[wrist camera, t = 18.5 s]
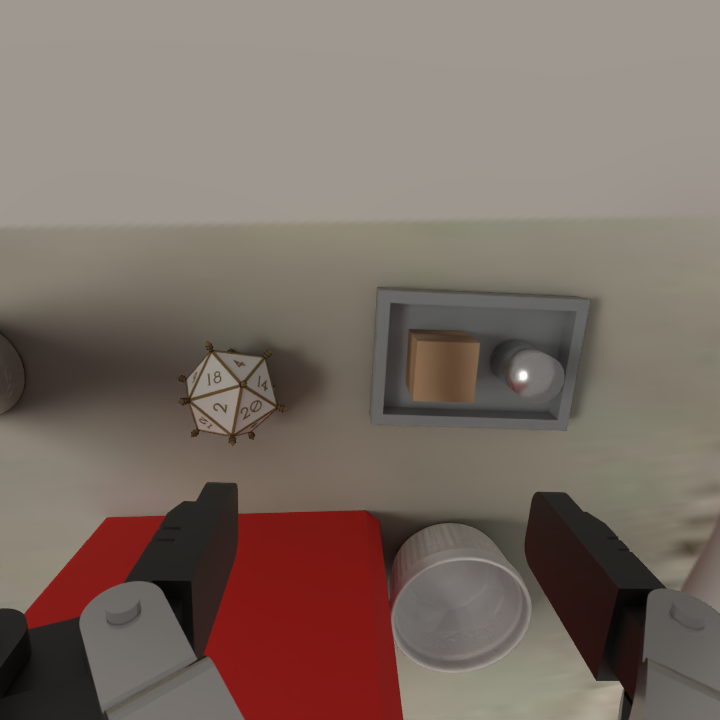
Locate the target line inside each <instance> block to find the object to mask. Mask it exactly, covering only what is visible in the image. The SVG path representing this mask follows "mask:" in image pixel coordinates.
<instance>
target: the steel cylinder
mask: <svg viewBox="0 0 720 720" xmlns="http://www.w3.org/2000/svg"><path fill="white" fill-rule="evenodd" d="M490 366H491V369H492V371H493V373H494V374H495V375H496V376H497V377H498V378H499V379H500V380H501V381H502V382H504V383H505V384H506V385H507V386H508V387H509V388H510V389H511V390H513V391H514V392H515V393H516V394H517V395H518V396H519V397H521V398H522V399H523V400H525V401H527V402H529V403H535V404H538V403H544V402H547V401H549V400H551V399H552V398H554V397H555V396H556V395H557V394H558V393H559V391H560V390H561V388H562V386H563V383H564V370H563V368H562V366H561V364H560V363H559V362H558V361H557V360H556V359H554V358H553V357H551V356H549V355H547V354H545V353H544V352H542V351H540V350H538V349H536V348H535V347H533V346H531V345H529V344H527V343H526V342H524V341H522V340H519V339H508V340H505V341H503V342H501V343H500V344H498V345H497V346H496V347H495V349H494V350H493V352H492V354H491V357H490Z"/></svg>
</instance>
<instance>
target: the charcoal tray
mask: <svg viewBox="0 0 720 720" xmlns="http://www.w3.org/2000/svg"><path fill="white" fill-rule="evenodd" d="M589 306H590V300H588V299H584V298H580V297H576V296H554V295H533V294H511V293H490V292H468V291H447V290H425V289H404V288H382V287H377V297H376V314H375V331H374V348H373V365H372V382H371V399H370V420H371V424H377V425H408V426H438V427H469V428H499V429H530V430H560V431H567V425H568V420H569V415H570V409H571V404H572V398H573V393H574V387H575V382H576V376H577V371H578V366H579V360H580V355H581V349H582V344H583V338H584V333H585V327H586V322H587V316H588V311H589ZM409 329H425V330H457V331H465V332H466V333H468V334H469V335H470V336H471V337H473V338H474V339H475V340H477V341H478V342H479V343H480V349H479V358H478V367H477V376H476V385H475V394H474V403H472V402H432V401H413V400H412V397H411V395H410V393H409V390H408V388H407V386H406V383H405V375H406V360H407V345H408V331H409ZM508 339H519V340H522V341H524V342H526V343H527V344H529V345H531V346H533V347H535V348H536V349H538V350H540V351H542V352H544V353H545V354H547V355H549V356H551V357H553V358H554V359H556V360H557V361H558V362H559V363H560V364H561V366H562V368H563V370H564V383H563V386H562V388H561V390H560V391H559V393H558V394H557V395H556V396H555V397H554V398H552V399H551V400H549V401H547V402H544V403H538V404H535V403H529V402H527V401H525V400H523V399H522V398H521V397H519V396H518V395H517V394H516V393H515V392H514V391H513V390H511V389H510V388H509V387H508V386H507V385H506V384H505V383H504V382H502V381H501V380H500V379H499V378H498V377H497V376H496V375H495V374H494V373H493V371H492V369H491V366H490V357H491V354H492V352H493V350H494V349H495V347H496V346H497V345H498V344H500V343H501V342H503V341H505V340H508Z"/></svg>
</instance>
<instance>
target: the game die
mask: <svg viewBox="0 0 720 720" xmlns="http://www.w3.org/2000/svg"><path fill="white" fill-rule="evenodd" d="M205 347H206V348H207V350H208V351H209V353H208V354H207V356H206V357H205V358H204V359H203V360H202V361H201V363H200V364H199V365H198V366H197V367H196V368H195V369H194V371H193V372H192V373H191V374H190V375H189V376H188V378H186V377H185V376H183V375H181V376H179V377H177V378H178V380H179V381H182V382H184V381H185V382H186V391H187V398H181V399H180V400H179V402H178V403H180V404H182V405H184V404H185V405H186V404H187V403H188V404H189V407H190V410H191V413H192V416H193V419H194V422H195V424H196V427H197V428H196V429H195V430H193V432H191V433H192V434H191V437H195V436H196V437H197V435H198V434H199V431H204V432H209V433H214V434H219V435H225V436H230V438H229V443H230V444H231V445H232V446H233V445H234V444H235V443H236V438H235V436H238V435H242V434H246V433H249V434H248V435H249V438H250V439H253V440H254V436H255V435H254V433H253V432H252V431H253V430H254V429H255V428H256V427H257V426H258V425H259V424H261V423H262V422H263V421H264V420H265V419H266V418H267V417H268V416H269V415H271V414H272V413H273V412H274V411H275V410H276V409H278V410H279V411H282V412H283V411H286V410H287V408H286V407H285V406H282V405H280V406H279V405H278V403H277V399H276V395H275V391H274V385H273V383H272V380H271V376H270V372H269V368H268V364H267V360H266V358H268V357H269V356H270V355H271V352H272V350H268V351H267V350H266V352H265V354H264V356H258V355H250V354H242V353H234V351H233V350H232V349H230V350H228V352H225V351H217V350H213V346H212V343H209V342H208V341H207V342H206V346H205Z"/></svg>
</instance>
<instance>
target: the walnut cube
mask: <svg viewBox="0 0 720 720" xmlns="http://www.w3.org/2000/svg"><path fill="white" fill-rule="evenodd" d="M479 349H480V343H479V342H478V341H477V340H475V339H474V338H473V337H471V336H470V335H469V334H468V333H466V332H465V331H457V330H425V329H409V331H408V345H407V360H406V375H405V383H406V386H407V388H408V390H409V393H410V395H411V397H412V400H413V401H432V402H472V403H474V394H475V385H476V376H477V367H478V358H479Z"/></svg>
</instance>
